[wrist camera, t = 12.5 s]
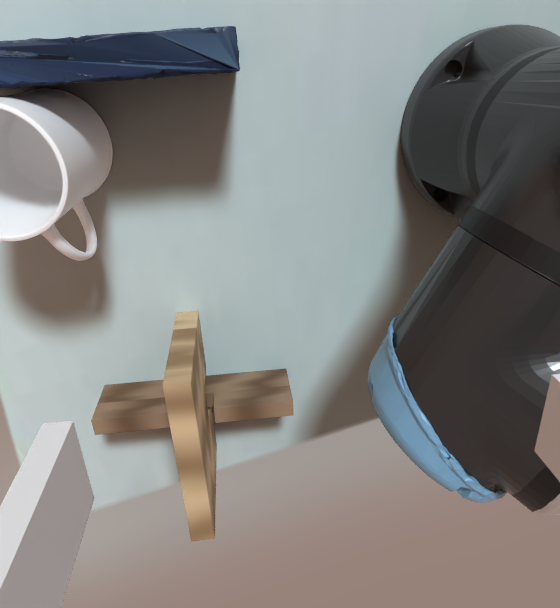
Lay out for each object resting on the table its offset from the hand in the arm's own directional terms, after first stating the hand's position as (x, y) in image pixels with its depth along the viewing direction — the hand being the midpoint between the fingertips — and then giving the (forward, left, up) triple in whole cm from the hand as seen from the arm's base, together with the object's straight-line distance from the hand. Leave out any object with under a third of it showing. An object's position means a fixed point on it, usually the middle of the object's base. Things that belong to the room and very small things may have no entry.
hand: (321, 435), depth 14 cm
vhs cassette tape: (+10, -10, -32) cm, 35 cm away
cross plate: (+7, +19, -32) cm, 38 cm away
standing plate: (+7, +19, -32) cm, 38 cm away
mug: (+15, -3, -32) cm, 35 cm away
